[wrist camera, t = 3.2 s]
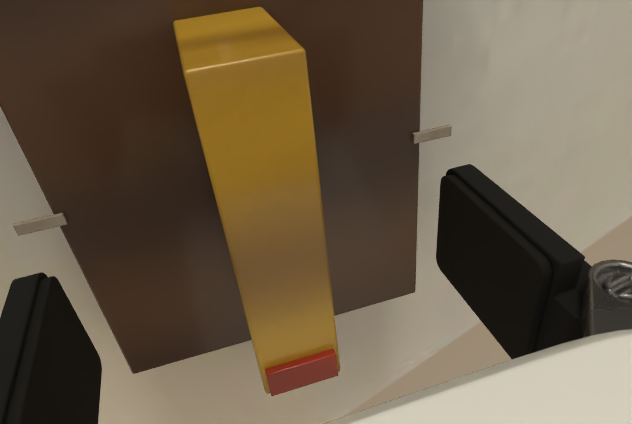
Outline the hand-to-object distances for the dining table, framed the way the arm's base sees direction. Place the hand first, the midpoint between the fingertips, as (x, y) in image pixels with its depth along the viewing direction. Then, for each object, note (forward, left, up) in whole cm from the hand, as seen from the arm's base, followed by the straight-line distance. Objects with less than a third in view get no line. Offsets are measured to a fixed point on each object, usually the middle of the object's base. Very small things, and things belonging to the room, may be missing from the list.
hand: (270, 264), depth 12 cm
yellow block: (0, 0, -5) cm, 5 cm away
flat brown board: (0, 0, -8) cm, 8 cm away
